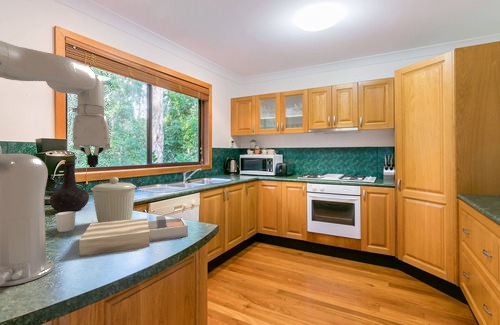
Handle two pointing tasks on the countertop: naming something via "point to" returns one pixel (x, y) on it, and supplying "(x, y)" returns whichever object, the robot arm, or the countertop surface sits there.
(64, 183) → the dark brown vase
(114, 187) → the canister
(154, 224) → the bin
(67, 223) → the shot glass
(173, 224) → the terracotta tile
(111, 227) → the board
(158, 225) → the slate tile
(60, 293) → the countertop surface
